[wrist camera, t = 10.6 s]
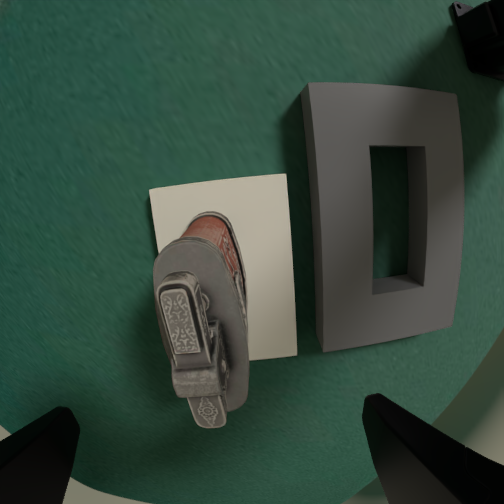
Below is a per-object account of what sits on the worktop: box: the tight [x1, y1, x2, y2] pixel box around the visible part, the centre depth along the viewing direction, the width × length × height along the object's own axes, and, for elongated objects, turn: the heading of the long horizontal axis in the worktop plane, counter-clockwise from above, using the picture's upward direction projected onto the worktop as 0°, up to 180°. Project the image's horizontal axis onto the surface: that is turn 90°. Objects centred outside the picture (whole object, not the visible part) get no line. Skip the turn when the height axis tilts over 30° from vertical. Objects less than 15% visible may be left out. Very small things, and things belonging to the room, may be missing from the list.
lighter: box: [153, 211, 249, 428], centre depth 14 cm, size 8×3×10 cm, turn 8°
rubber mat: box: [149, 174, 297, 361], centre depth 20 cm, size 8×12×1 cm, turn 6°
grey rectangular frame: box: [300, 82, 464, 352], centre depth 18 cm, size 10×16×2 cm, turn 5°
